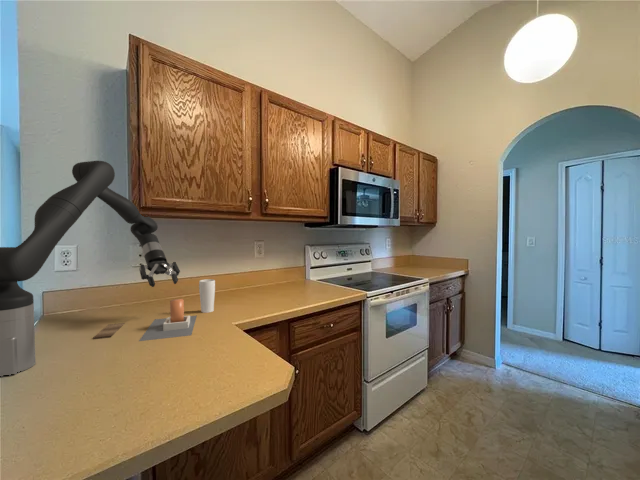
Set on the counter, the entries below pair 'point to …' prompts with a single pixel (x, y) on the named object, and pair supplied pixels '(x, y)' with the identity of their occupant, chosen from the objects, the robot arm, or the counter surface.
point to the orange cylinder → (177, 310)
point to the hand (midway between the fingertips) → (165, 284)
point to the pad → (108, 331)
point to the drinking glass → (207, 295)
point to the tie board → (169, 328)
